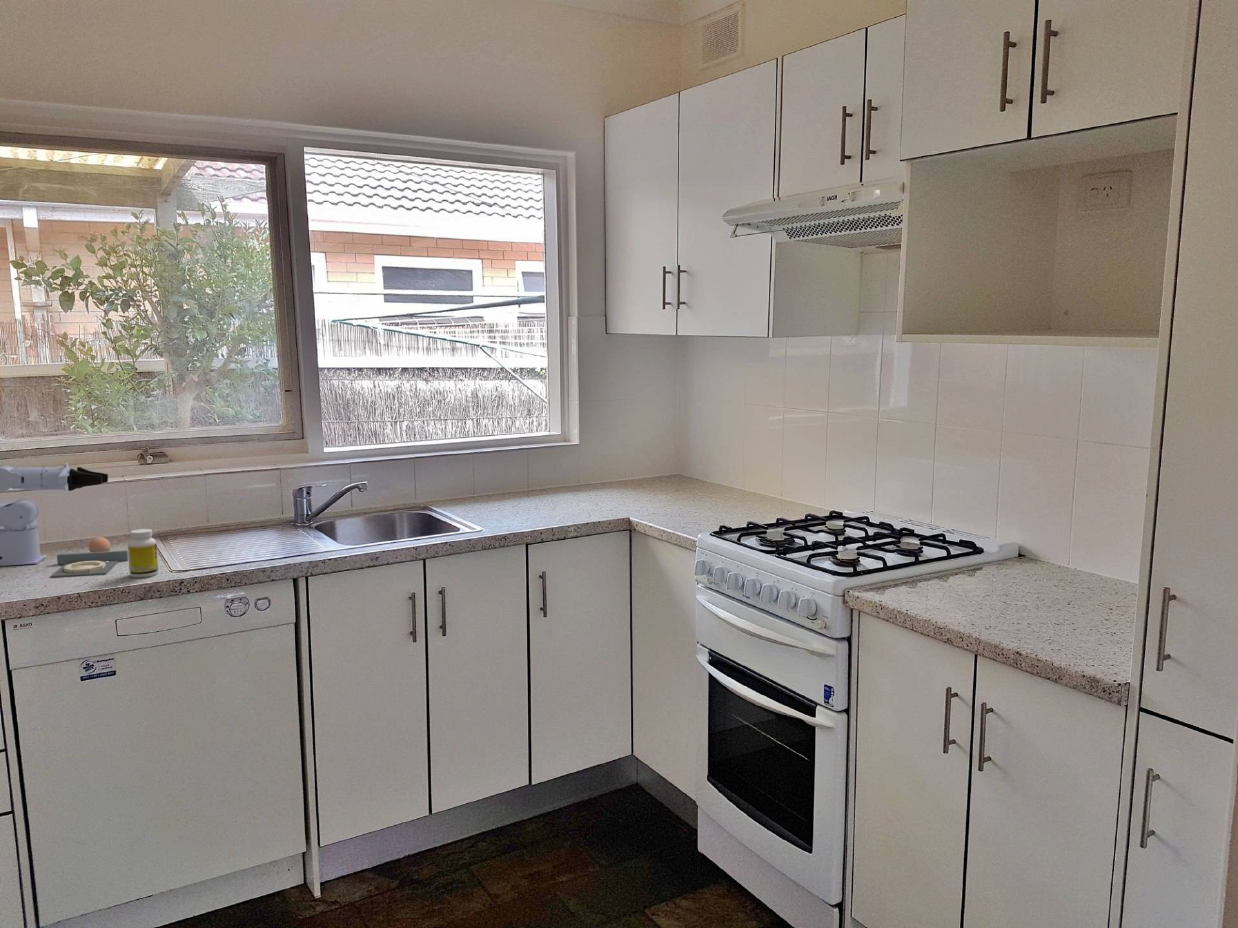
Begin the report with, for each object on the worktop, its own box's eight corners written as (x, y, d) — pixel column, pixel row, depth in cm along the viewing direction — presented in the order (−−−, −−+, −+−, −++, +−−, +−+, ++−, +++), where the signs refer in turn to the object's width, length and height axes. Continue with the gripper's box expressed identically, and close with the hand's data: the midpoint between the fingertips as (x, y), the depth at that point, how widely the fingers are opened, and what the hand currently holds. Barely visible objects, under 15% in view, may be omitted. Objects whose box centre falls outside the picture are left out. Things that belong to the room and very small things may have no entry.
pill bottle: (162, 574, 224) (159, 530, 222) (135, 579, 219) (132, 534, 218) (152, 570, 228) (149, 526, 226) (125, 575, 223) (122, 530, 222)
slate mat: (50, 577, 220) (50, 572, 220) (64, 565, 232) (64, 560, 231) (106, 574, 224) (105, 569, 224) (117, 562, 235) (117, 557, 235)
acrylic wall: (57, 564, 233) (56, 555, 232) (58, 563, 233) (58, 554, 233) (127, 560, 237) (126, 551, 237) (128, 559, 238) (127, 550, 238)
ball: (87, 558, 239) (85, 539, 238) (92, 554, 244) (90, 535, 243) (108, 557, 240) (107, 538, 240) (113, 553, 245) (111, 534, 244)
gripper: (37, 464, 227) (99, 464, 232) (52, 461, 241) (110, 462, 245) (37, 492, 227) (98, 492, 232) (52, 488, 241) (110, 488, 246)
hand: (104, 479), depth 239 cm, fingers open, 7 cm apart
